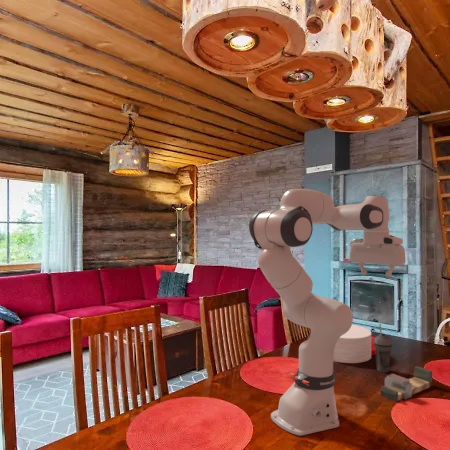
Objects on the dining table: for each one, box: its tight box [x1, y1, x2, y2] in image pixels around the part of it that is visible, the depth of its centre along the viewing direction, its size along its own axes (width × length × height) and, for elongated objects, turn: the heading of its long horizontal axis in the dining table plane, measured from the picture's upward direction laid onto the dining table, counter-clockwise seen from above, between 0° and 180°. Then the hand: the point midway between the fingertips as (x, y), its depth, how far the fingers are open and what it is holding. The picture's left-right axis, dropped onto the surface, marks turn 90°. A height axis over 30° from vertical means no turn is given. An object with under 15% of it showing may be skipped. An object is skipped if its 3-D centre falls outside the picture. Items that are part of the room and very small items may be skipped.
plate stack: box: [333, 324, 372, 364], centre depth 180 cm, size 28×28×12 cm
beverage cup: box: [373, 323, 393, 373], centre depth 158 cm, size 7×7×20 cm
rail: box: [380, 365, 433, 402], centre depth 138 cm, size 24×6×6 cm, turn 123°
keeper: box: [384, 373, 413, 401], centre depth 135 cm, size 4×8×6 cm, turn 33°
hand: (376, 275), depth 136 cm, fingers open, 8 cm apart
